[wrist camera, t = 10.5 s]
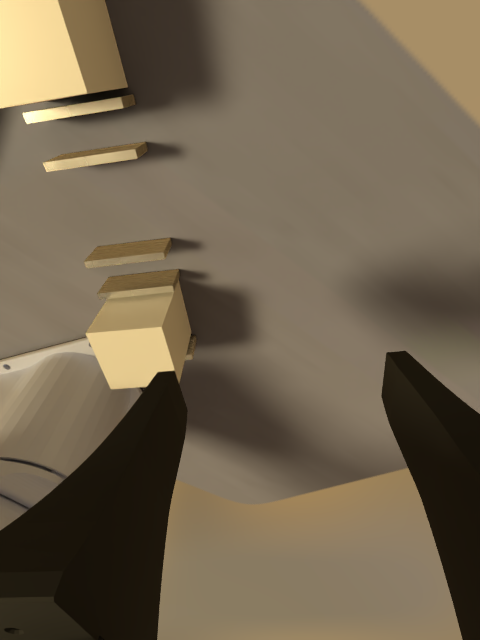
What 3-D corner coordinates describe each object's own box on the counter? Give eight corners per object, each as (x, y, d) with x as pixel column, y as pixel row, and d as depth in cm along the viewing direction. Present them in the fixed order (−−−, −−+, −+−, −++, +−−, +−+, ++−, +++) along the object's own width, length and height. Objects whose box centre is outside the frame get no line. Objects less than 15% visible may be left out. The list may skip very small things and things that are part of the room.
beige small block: (191, 331, 25) (179, 384, 20) (134, 336, 25) (110, 389, 21) (178, 279, 22) (161, 326, 18) (116, 285, 23) (85, 333, 19)
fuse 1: (128, 87, 17) (87, 93, 13) (46, 101, 17) (-19, 111, 13) (96, -31, 14) (34, -71, 10) (4, -12, 15) (-91, -42, 11)
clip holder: (196, 340, 25) (192, 359, 23) (134, 345, 25) (126, 365, 24) (94, -57, 14) (73, -75, 12) (-11, -35, 14) (-45, -48, 13)
